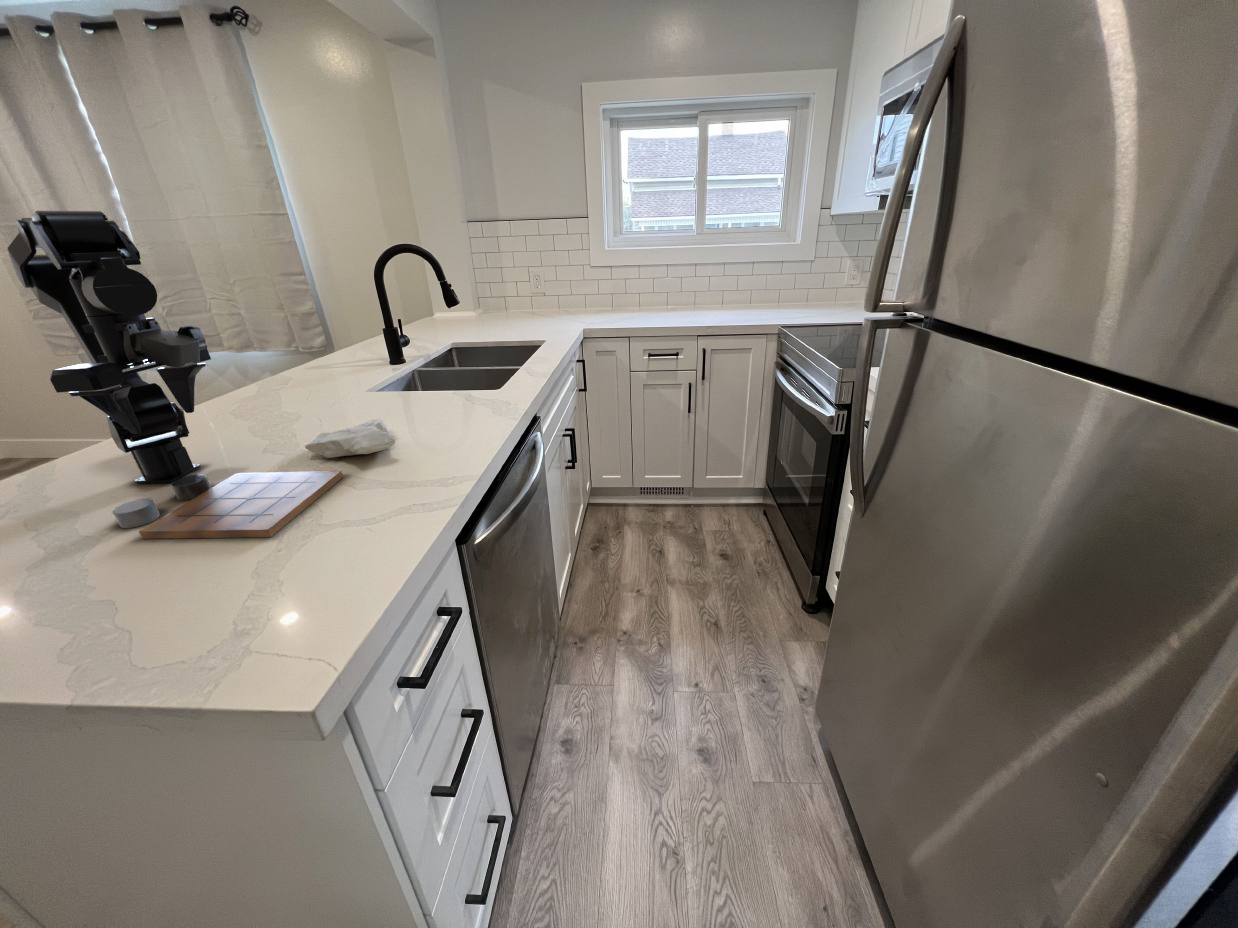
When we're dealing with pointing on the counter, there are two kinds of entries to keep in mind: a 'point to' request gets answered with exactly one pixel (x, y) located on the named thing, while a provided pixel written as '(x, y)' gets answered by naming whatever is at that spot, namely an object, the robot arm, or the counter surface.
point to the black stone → (191, 486)
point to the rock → (353, 440)
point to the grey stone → (136, 513)
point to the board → (244, 506)
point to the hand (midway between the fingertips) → (165, 422)
